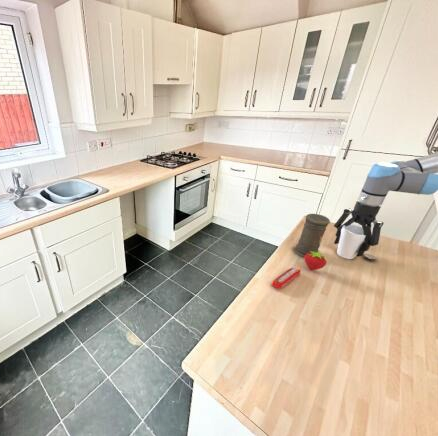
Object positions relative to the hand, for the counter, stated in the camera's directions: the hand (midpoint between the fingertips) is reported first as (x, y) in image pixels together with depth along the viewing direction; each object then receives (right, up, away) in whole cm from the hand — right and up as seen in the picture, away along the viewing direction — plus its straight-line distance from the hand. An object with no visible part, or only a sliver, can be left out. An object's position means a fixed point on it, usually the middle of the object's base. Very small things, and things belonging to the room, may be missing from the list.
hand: (347, 249), depth 106 cm
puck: (+8, -4, -1) cm, 9 cm away
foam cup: (0, -3, +2) cm, 3 cm away
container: (-16, -2, +3) cm, 17 cm away
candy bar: (-34, -11, -12) cm, 38 cm away
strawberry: (-21, -8, -7) cm, 23 cm away
